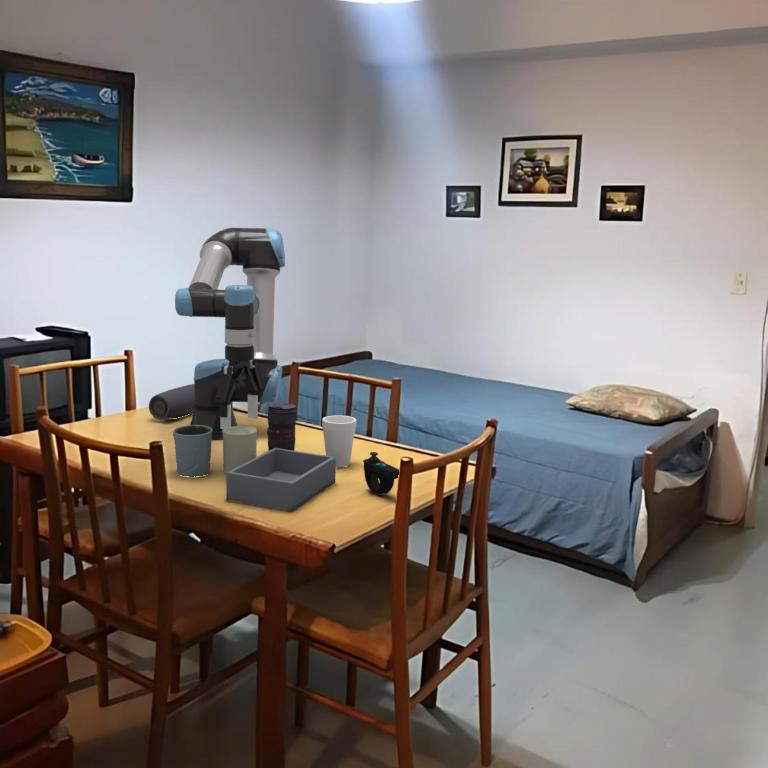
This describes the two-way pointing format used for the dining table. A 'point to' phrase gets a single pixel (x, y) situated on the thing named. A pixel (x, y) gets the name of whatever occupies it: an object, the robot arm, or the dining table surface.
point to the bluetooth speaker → (173, 403)
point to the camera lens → (281, 426)
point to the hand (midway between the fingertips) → (239, 423)
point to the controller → (379, 474)
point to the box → (280, 479)
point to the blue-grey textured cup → (193, 449)
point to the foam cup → (339, 437)
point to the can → (238, 446)
